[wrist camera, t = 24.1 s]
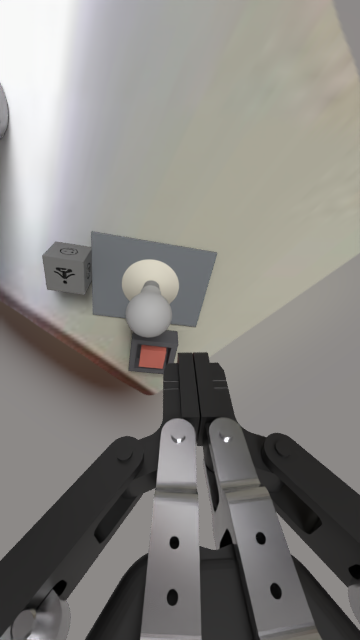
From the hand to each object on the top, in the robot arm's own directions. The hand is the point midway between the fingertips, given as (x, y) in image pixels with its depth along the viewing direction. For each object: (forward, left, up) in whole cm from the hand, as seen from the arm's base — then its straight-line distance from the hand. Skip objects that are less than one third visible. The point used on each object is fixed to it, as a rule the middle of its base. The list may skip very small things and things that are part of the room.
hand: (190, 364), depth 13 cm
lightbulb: (-2, -11, -27) cm, 29 cm away
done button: (0, -24, -26) cm, 35 cm away
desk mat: (-2, -11, -27) cm, 29 cm away
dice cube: (-13, -9, -27) cm, 32 cm away
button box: (0, -24, -27) cm, 36 cm away
